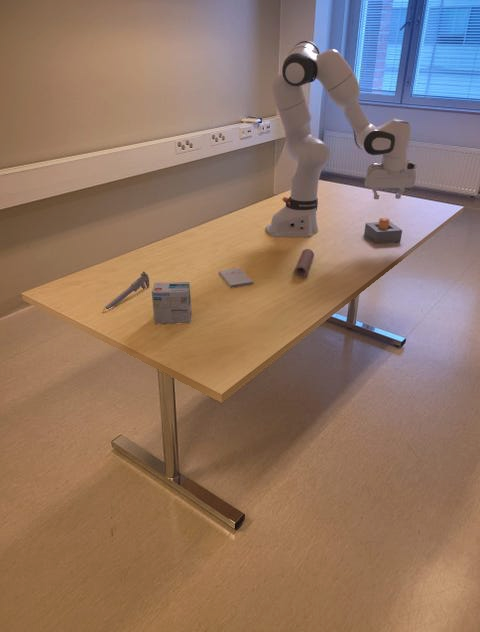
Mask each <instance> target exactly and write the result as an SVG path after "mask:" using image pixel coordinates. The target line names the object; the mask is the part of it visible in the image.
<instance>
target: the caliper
mask: <svg viewBox="0 0 480 632" xmlns="http://www.w3.org/2000/svg"><path fill="white" fill-rule="evenodd" d="M146 286H147V287H146ZM149 286H151V285H150V278H149V275H148V274H147V273H146V272H145V271H142V273H140V277H138V278H137V279H135V281H134V282H132V283H131V285H130V286H129V287H128V288H127V289H125V290H124V291H123V292H122V293H121V294H119V295H118V296H117V297H116V298H114V299H113V300H112V301H110V302H109V303H107V305H105V306H104V309H105V308H106V309H109V308H111V307H113V306H115V305H116V304H117V305H119V303H121V302H122V301H124V300H125V298H127V297H128V296H129V295H130V294H131V293H133V292H137V291H138V290H139V289H140V288H141V289H142V288H143V289H142V290H144V289H145V288H146V289H147V288H148V287H149ZM149 288H150V287H149ZM117 305H116V306H117ZM116 306H115V307H116ZM113 308H114V307H113Z"/></svg>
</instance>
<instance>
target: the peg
mask: <svg viewBox="0 0 480 632" xmlns="http://www.w3.org/2000/svg"><path fill="white" fill-rule="evenodd" d="M389 221H390V219H389V218H387V217H381V218H379V220H378V222H379V226H378V228H379V229H388V226H389Z"/></svg>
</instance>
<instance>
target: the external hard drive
mask: <svg viewBox="0 0 480 632" xmlns="http://www.w3.org/2000/svg"><path fill="white" fill-rule="evenodd" d="M218 274H219V276H222V277H221V278H222V279H223V281H225V282H226V285H228V287H231V288H230V289H233V288H232V287H234V288H239V287H238V286H240V287H245V285H246V286H250V285H251V286H252V284H253V285H254V281H253V280H252V279H251V278H250V277H249V276H248V274H246V272H245V271H244V270H242V269H241V267H237V268H236V267H235V268H229V269H223V270H220V271H218Z"/></svg>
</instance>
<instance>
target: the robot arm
mask: <svg viewBox="0 0 480 632" xmlns="http://www.w3.org/2000/svg"><path fill="white" fill-rule="evenodd" d="M281 69H282V70H281V73H279V74H278V75H277V76H276V77H275V78H274V79H273V81H272V84H271V86H272V94H273V97H274V102H275V105H276V107H277V108H276V109H277V110H278V111H277V112H278V113H279V118H280V120H281V123H282V127H283V129H284V135H285V141H286V143H285V150H286V152H287V154H288V156H290V158H291V159H293V160H294V161H296V162H297V166H296V170H295V173H294V175H293V176H292V177H291V182H290V184H291V185H290V196H289V197H286V196H284V197H282V199H281V200H282V201H283V202H284V203H285V206H283V208H281V209H280V210H278V211H276V212H275V213H274V214H273V216H272V218H271V223H270V224H266V226H265V230H266V231H265V232H266V233H268V234H269V235H270V236H271V237H274V238H310V237H312V236H313V235H315V234H317V233H318V232H319V228H318V222H317V221H318V220H317V211H318V204H319V203H318V202H319V201H318V200H319V199H318V189H319V182H320V176H321V174H322V170H323V167H324V166H325V165H326V164H327V163H328V161H329V159H330V148H329V147H328V145H327V144H326V143H325V142H324V141H323V140H321V139H319V138H316V137H315V136H314V135H313V133H312V131H311V120H312V115H311V112H310V108H309V106H308V103H307V100H306V96H305V94H304V90H303V86H304V85H306V84H309V83H310V84H311V83H312V82H315V80H318V81H319V82H320V84H321V86H322V87H323V89H324V91H325V92H326V94H327V95H328V97H329V98H330V99H331V101H332V102H333V103H334V104H335V105H336V106H337V107H338V108H339V109H340V110H341V111H342V112H343V114H344V115H345V118H346V119H347V121H348V122H349V124H350V127H351V128H352V131H353V135H354V136H353V137H354V144H355V145H356V146H357V148H358V149H360V150H362V151H364V153H366V154H369V156H370V155H371V156H380V155H382V159H381V163H372V164H371V165H370V164H369V166H367V170H366V177H365V180H364V186H365V187H366V188H367V189H368V190H369V189H371V190H372V193H373V199H374V200H379V199H380V194H378V191H379V189H399V190H398V192H397V193H395V196H394V198H395V199H397V200H399V199H401V197H402V195H403V193H404V192H405V191H406V188H408V189H409V188H413V187H414V186H415V183H416V179H417V178H416V177H417V172H416V169H417V167H418V165H417V164H416V163H415V162H413V161H410V160H408V159H407V150H408V147H409V144H410V139H411V125H410V123H409V122H408V121H406V120H403V119H399V118H390V119H389V121H387V122H385V123H384V124H381V125H378V126H376V125H375V124H374V123H372V122H371V121H369V120H368V117H367V116H366V114H365V113H364V110H363V108H362V107H361V105H360V103H359V95H360V90H361V88H360V85H359V82H358V79H357V77H356V75H355V73H354V71H353V70H352V68H351V66H350V65H349V63H348V62H347V60H346V59H345V58H344V56H343V55H342V53H340V52H339V50H337V49H334V48H331V49H327V50H325V51H322V53H320V50H319V47H318V46H317V45H316V44H315V42H313V41H311V40H303V41H300V42H298V43H296V45H294V46H293V48H292V49H290V51H289V52H288V54H287V57H286V58H285V59H284V61H283V64H282V68H281Z"/></svg>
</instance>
